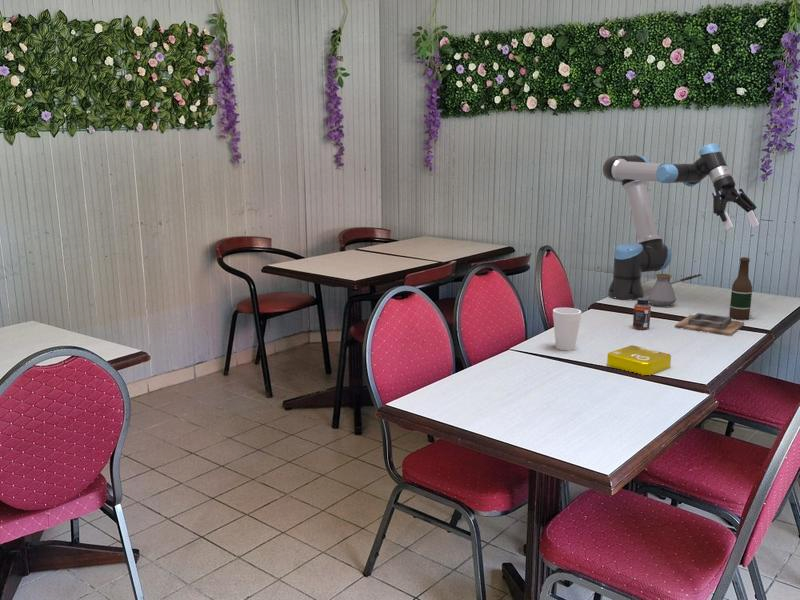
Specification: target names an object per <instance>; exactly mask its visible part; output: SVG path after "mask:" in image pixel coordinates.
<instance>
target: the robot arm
mask: <svg viewBox="0 0 800 600" xmlns="http://www.w3.org/2000/svg"><path fill="white" fill-rule="evenodd" d="M698 154H699V158H698V159H697V160H695V161H694V162H693V163H663V162H662V163H659V162H651V161H649V159H648V158H647V157H645V156H643V155H638V154H632V155H630V154H629V155H613V156H610V157H608V158H607V159H606V160H605V162H604V163H603V165H602V174H603V176H604V177H605V178H606V180H608V181H611V182H615V183H617V182H618V183H621V187H622V188H623V190H626V191H627V192H626V193H627V196H628V200H629V206H630V209H631V211H630V212H631V214H632V219H633V223H634V229H635V232H636V236H637V242H630V243H629V242H628V243H627V242H626V243H621V244H619V245H617V246H616V247H615V248H614V254H613V258H614V260H613V275H612V276H613V278H612V280H611V283H610V284H609V285H610V286H609V288H608V291H607V296H608V297H609V298H611V297H613V298H612V299H615V298H614V297H616V298H619V299H618V300H622V299H638V298H644V295H645V294H644V288H643V285H642V281H641V279H642V278H641V277H642V273H648V272H649V273H650V272H658V271H662V270H665V269H666V268H668V266H669V265H670V262H671V261H672V250H671V248H670V246H668V244H665V243H664V241H663V238H662V237H660V236H659V235H658V232H657V227H656V223H655V217H654V214H653V209H652V205H651V201H650V196H649V192H648V187H647V185H648V183H650V182H659V183H662V184H677V183H683V185H685V186H687V187H691V188H692V187H694V186H696V185H698V184H699V183H701V182H702V181H703V180H704V179H705V178H706V177H709V180H710V181H711V184H712V186H713V189H714V190H715V191H713V192H712V193H711V195H712V199H713V207H712V208H713V211H712V212H713V214H714V215H716V216H717V217H720V220H721V221H722V223H723V224H724V226H725V229H726V231H729V230H731V229H732V228H733V227H734V225H733V223H732V221H731V219H730V216H729V214H728V212H727V211H726V208H727V204H728V203H729V202H730V203H734V204H737V205H738V206H739V207H740V208H741V209H743V210H744V211H745V212H746V216H747V218H748V221H749V223H750V225H751V228H752V229H755V228H757V227H758V226H759V225H760V224H759V221H758V219H757V215H756V213H755V210H756V209H757V205H756V204H755V203H753V201H752V200H751V199H750V198H749V197H748V195H747V194H745V192H744V190H743V189H742V188H739V189H736V182H735V180H734V178H733V176H732V173H731V171H730V169H729V168H728V164H727V163H726V160H725V158H724V154H723V152H722V151H721V149H720V147H719V144H717V143H709V144H706V145H704V146H702V147H701V148H700V149H699V151H698Z"/></svg>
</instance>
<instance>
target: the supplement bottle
mask: <svg viewBox="0 0 800 600" xmlns="http://www.w3.org/2000/svg"><path fill="white" fill-rule="evenodd" d="M651 310H652V305H651V304H650V302H649V299H648V297H647V298H646V297H643V298H638V299H637V300H636V303H635V304H634V306H633V316H632V317H633V320H632V328H634V329H636V330H640V329H641V330H643V331H644V330H645V331H646V330H648V329H650V325H651V324H650V323H651ZM641 330H640V331H641Z"/></svg>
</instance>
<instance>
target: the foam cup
mask: <svg viewBox="0 0 800 600" xmlns="http://www.w3.org/2000/svg"><path fill="white" fill-rule="evenodd" d="M552 319H553V327H554V328H553V329H554V342H555V349H556V350H559V349H560V351H566V350H570V351H574V350H575V348H576V343H577V338H578V333H579V329H580V323H581V319H582V310H580V309H578V308H573V307H555V308H554V309H552Z"/></svg>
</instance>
